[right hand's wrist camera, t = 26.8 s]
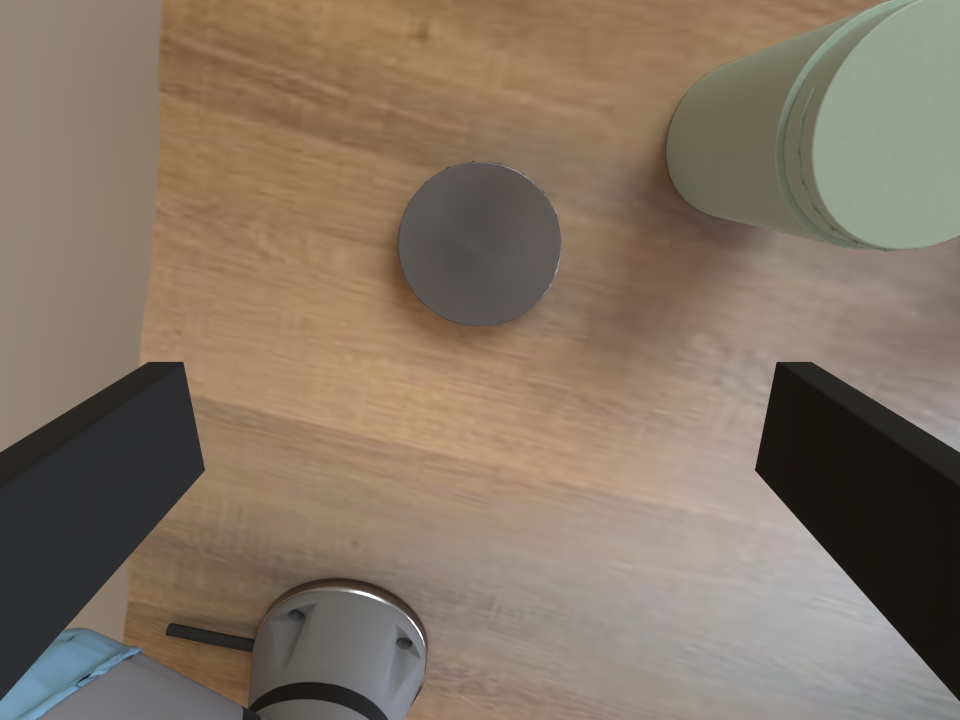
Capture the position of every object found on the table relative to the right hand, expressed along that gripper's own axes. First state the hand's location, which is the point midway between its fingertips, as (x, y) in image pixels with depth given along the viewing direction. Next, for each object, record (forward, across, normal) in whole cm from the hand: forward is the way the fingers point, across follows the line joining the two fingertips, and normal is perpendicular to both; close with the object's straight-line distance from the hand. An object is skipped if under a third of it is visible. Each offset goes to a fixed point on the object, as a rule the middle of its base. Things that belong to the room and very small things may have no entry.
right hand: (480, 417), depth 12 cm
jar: (+27, +17, +6) cm, 32 cm away
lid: (+25, 0, 0) cm, 25 cm away
